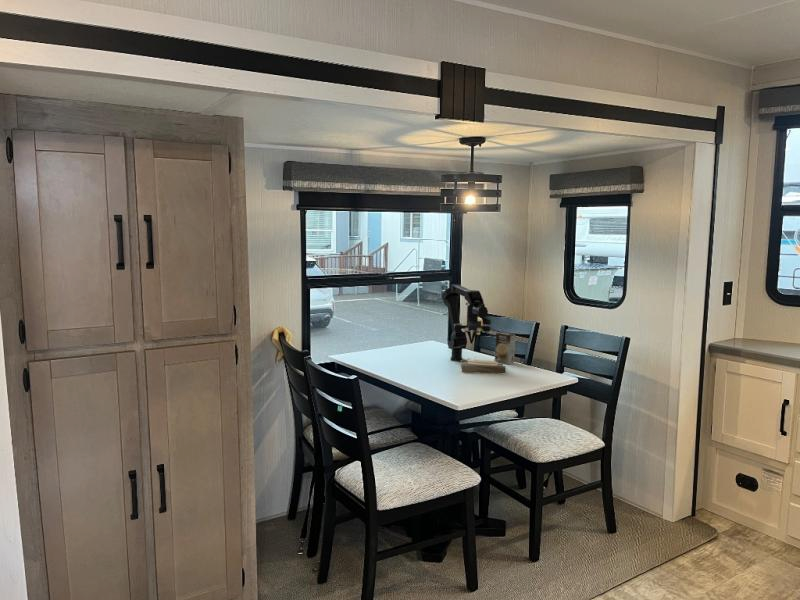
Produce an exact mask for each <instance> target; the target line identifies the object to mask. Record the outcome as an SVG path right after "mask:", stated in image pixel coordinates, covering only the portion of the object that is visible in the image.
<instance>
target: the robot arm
mask: <svg viewBox="0 0 800 600" xmlns="http://www.w3.org/2000/svg"><path fill="white" fill-rule="evenodd" d="M460 296H462V297H463V298H464V300H465V301H467V302H465V305H466V306H467V308H466V309H467V310H466V324H465V325H463V324H462V323H461V322H460V318H459V312H458V308H457V303H458V302H459V299H458V298H459V297H460ZM441 298H442V301H443V304H444V305H445V306H446V307H447V310H448V311H447V312H448V316H449V320H450V326H451V330H452V332H451V335H450V341H449V342H448V343H447V347H448V349H450V350H451V356H450V360H451V361H460V360H462V361H464V359H463V349H465V350H466V349H467V345H468V339H469V343H470V344H473V342H474V339H475V337H476V335H477V334H479V333H480V330H482V331H484V332H491V326H490V324H486V323H485V324H482V321H481V320H479V318H485V317H487V315H488V313H489V310H488V307H486V304H485V302H484V299H483V296H482V293H481V291H479V290H475V289H469V288H467V287H464V286H462V285H461V284H451V286H450V287H448V288H446V289H445V290H444V291H443V293H442V294H441ZM471 331H472V332H471ZM467 336H468V338H467Z"/></svg>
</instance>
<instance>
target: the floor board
mask: <svg viewBox="0 0 800 600" xmlns="http://www.w3.org/2000/svg"><path fill="white" fill-rule="evenodd" d="M497 365H498V366H493V365H469V364H468V361H460V368H461V369H460V370H462V371H461V373H475V372H480V374H498V373H505V374H506V366H505V365H504V363H499V362H497Z"/></svg>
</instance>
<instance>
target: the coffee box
mask: <svg viewBox="0 0 800 600" xmlns="http://www.w3.org/2000/svg"><path fill="white" fill-rule="evenodd" d="M516 337H517V336H516V334H515V333H511V332H506V331H505V332H504V331H500V332H496V333H495V347H494V348H495V349H494V361H496V362H497V363H500V364H503V365H504V364H505V365H510V364H514V361H515V347H516Z"/></svg>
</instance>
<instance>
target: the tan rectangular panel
mask: <svg viewBox="0 0 800 600" xmlns="http://www.w3.org/2000/svg"><path fill="white" fill-rule="evenodd" d="M467 362H468V364H469V365H493V366H498V365H497V363H498V362H496V361H495V360H483V359H482V360H481V359H479V360H478V359H467Z"/></svg>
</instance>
